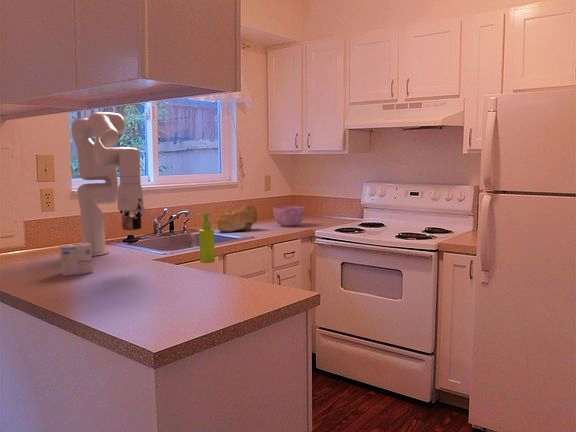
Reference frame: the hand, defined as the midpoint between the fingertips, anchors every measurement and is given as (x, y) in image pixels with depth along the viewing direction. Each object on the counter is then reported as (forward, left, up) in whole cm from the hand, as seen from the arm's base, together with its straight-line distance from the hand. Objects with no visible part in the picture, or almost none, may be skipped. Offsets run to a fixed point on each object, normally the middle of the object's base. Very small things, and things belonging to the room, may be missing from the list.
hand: (132, 227), depth 198 cm
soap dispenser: (+15, +24, -16) cm, 33 cm away
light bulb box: (-13, -16, -16) cm, 26 cm away
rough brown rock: (-34, +102, -16) cm, 108 cm away
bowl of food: (-18, +133, -16) cm, 135 cm away
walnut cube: (0, 0, -1) cm, 1 cm away
